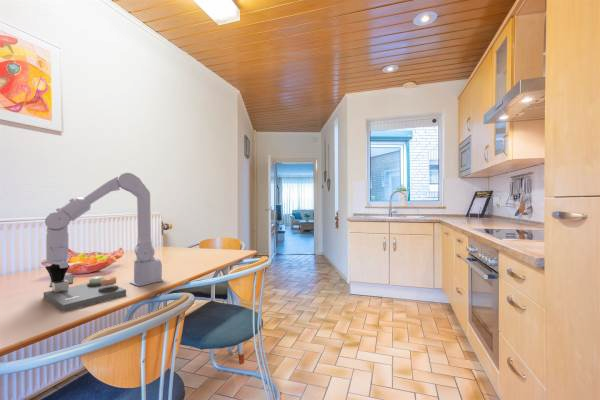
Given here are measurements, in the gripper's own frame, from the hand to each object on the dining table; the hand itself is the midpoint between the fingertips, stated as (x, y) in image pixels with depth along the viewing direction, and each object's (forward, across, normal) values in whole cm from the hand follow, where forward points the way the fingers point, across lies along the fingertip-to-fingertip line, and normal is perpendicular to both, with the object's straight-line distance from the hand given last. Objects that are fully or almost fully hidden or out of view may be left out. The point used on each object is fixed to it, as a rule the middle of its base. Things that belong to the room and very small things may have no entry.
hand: (57, 285), depth 94 cm
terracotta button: (-1, +15, +10) cm, 18 cm away
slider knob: (+1, +3, 0) cm, 3 cm away
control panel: (+3, +10, +5) cm, 11 cm away
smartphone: (+4, -20, +6) cm, 22 cm away
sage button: (+1, +5, +10) cm, 11 cm away
